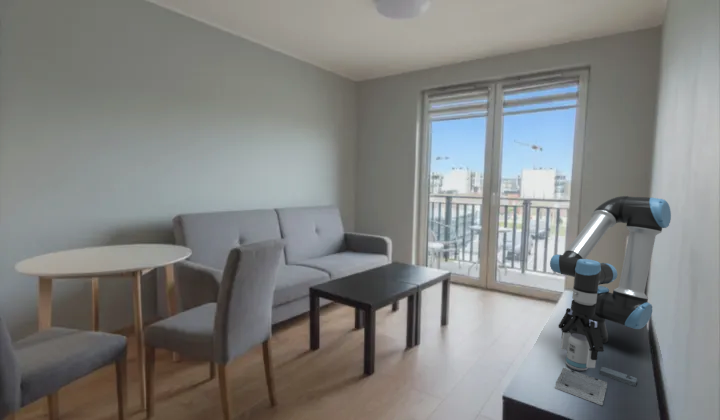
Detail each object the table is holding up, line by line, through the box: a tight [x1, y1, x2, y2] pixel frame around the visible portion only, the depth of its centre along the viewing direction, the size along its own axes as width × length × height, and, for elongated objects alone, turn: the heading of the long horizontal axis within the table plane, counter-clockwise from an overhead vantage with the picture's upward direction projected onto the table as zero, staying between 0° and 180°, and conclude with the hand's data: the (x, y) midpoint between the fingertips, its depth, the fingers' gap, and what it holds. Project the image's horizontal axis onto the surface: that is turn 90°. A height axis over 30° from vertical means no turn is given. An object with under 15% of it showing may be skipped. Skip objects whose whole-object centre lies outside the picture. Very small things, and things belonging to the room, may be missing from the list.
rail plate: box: [554, 367, 608, 406], centre depth 118 cm, size 13×13×2 cm
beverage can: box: [565, 333, 590, 372], centre depth 131 cm, size 7×7×12 cm
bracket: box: [599, 366, 638, 387], centre depth 126 cm, size 4×10×2 cm, turn 46°
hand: (576, 357), depth 131 cm, fingers open, 13 cm apart
